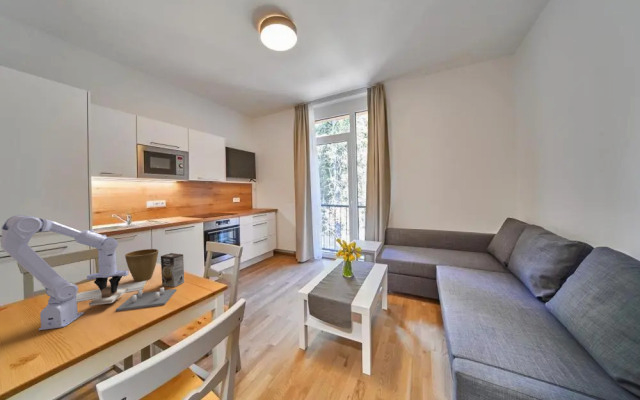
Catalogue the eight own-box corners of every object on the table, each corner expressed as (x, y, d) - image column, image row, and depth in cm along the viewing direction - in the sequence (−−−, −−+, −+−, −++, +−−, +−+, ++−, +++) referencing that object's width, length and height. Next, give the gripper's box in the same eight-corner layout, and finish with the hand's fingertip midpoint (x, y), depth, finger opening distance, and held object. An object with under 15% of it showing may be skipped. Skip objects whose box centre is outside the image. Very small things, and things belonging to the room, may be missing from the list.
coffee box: (161, 285, 117) (159, 256, 116) (172, 280, 123) (171, 252, 122) (174, 287, 115) (172, 257, 114) (185, 282, 121) (183, 253, 120)
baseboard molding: (142, 291, 111) (146, 283, 122) (142, 286, 111) (146, 278, 122) (52, 309, 96) (66, 297, 106) (52, 303, 96) (66, 292, 106)
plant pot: (147, 284, 119) (146, 255, 118) (119, 285, 118) (117, 256, 117) (165, 273, 133) (164, 248, 133) (140, 274, 133) (138, 248, 132)
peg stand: (164, 304, 97) (164, 296, 97) (116, 311, 92) (115, 302, 92) (176, 290, 111) (176, 283, 110) (134, 295, 106) (134, 287, 106)
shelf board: (111, 302, 94) (110, 292, 94) (89, 305, 92) (88, 295, 92) (128, 290, 106) (127, 281, 106) (108, 292, 104) (107, 283, 104)
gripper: (131, 259, 104) (133, 287, 105) (94, 262, 100) (96, 291, 101) (122, 264, 97) (124, 293, 98) (82, 267, 94) (84, 298, 94)
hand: (109, 292), depth 99 cm, fingers closed on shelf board, 3 cm apart
